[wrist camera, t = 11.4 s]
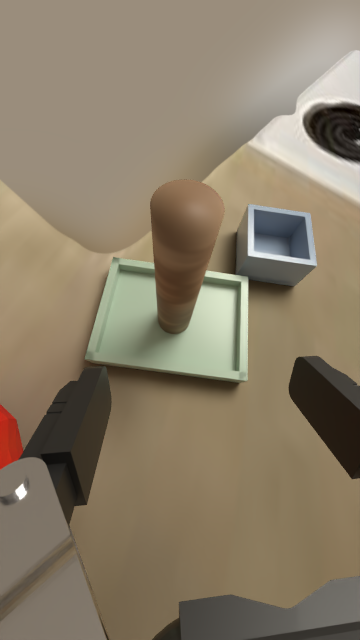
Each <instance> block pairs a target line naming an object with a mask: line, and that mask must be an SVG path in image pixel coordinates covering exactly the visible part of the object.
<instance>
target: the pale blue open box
mask: <svg viewBox="0 0 360 640" xmlns="http://www.w3.org/2000/svg"><path fill="white" fill-rule="evenodd" d="M316 266H317V262H316V254H315V247H314V239H313V231H312V223H311V216H310V213H304V212H298V211H291V210H285V209H278V208H271V207H265V206H258V205H252V204H248V206H247V208H246V211H245V213H244V215H243V218H242V220H241V222H240V225H239V227H238V229H237V241H236V271H235V275H240V276H246V277H248V280H254V281H261V282H268V283H275V284H282V285H289V286H295V285H296V284H297V283H299V282H300V281H301V280H302V279H303V278H304V277H305V276H306V275H307V274H309V273H310V272H311V271H312V270H313V269H314V268H315V267H316Z"/></svg>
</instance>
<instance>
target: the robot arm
mask: <svg viewBox="0 0 360 640" xmlns="http://www.w3.org/2000/svg"><path fill="white" fill-rule="evenodd" d="M289 394H290V397H291V399H292V400H293V402H294V403H295V404H296V406H297V407H298V408H299V410H300V411H301V412H302V414H303V415H304V416H305V418H306V419H307V420H308V422H309V423H310V424H311V426H312V427H313V428H314V429H315V431H316V432H317V433H318V435H319V436H320V437H321V439H322V440H323V441H324V443H325V444H326V445H327V447H328V448H329V449H330V451H331V452H332V453H333V455H334V456H335V457H336V459H337V460H338V461H339V462H340V464H341V465H342V466H343V468H344V469H345V470H346V472H347V473H348V474H349V476H350V477H351V478H352V479H357V478H360V386H358V385H357V383H356V382H354V381H353V380H352V379H351V378H349V377H348V376H347V375H346V374H344V373H342V372H340V371H338V370H336V369H334V368H332V367H331V366H330V365H329V364H327V363H326V362H325V361H324V360H323V359H321V358H320V357H318V356H306V357H298V358H297V359H296V360H295V363H294V367H293V371H292V375H291V379H290V383H289ZM110 411H111V392H110V386H109V380H108V374H107V369H106V367H105V366H100V367H85V368H84V370H83V372H82V374H81V376H80V378H79V379H78V381H70V382H69V383H68V384H67V385H65V386H64V387H63V388H62V389H61V390H60V391H59V392H58V394H57V396H56V397H55V399H54V401H53V402H52V405H51V406H50V407H49V409H48V411H47V414H46V415H45V416H44V417H43V419H42V421H41V423H40V424H39V426H38V428H37V429H36V431H35V433H34V434H33V436H32V438H31V439H30V441H29V443H28V444H27V446H26V448H25V450H24V451H23V453H22V455H21V456H20V458H19V459H18V460H17V461H14V462H12V463H10V464H8V465H7V466H5V467H4V468H2V469H1V470H0V640H110V638H109V635H108V632H107V629H106V626H105V624H104V621H103V618H102V615H101V613H100V610H99V607H98V605H97V602H96V599H95V596H94V593H93V591H92V588H91V585H90V582H89V579H88V577H87V574H86V571H85V568H84V565H83V563H82V560H81V557H80V554H79V551H78V548H77V546H76V543H75V540H74V537H73V534H72V532H71V529H70V526H69V523H70V520H71V516H72V513H73V510H74V506H80V505H87V502H88V498H89V494H90V490H91V486H92V482H93V478H94V474H95V470H96V466H97V462H98V459H99V455H100V451H101V447H102V443H103V439H104V435H105V431H106V427H107V423H108V419H109V415H110ZM152 640H360V576H357V577H350V578H343V579H336V580H330V581H329V582H327V583H326V584H325V585H323V586H322V587H321V588H319V589H318V590H316V591H315V592H314V593H312V594H311V595H309V596H308V597H307V598H305V599H304V600H302V601H301V602H300V603H298V604H297V605H295V606H294V607H292V608H288V609H285V608H280V607H276V606H273V605H269V604H265V603H261V602H257V601H253V600H250V599H246V598H242V597H238V596H234V595H224V596H217V597H210V598H203V599H196V600H189V601H182V602H179V618H178V619H176V620H175V621H173V622H172V623H170V624H169V625H167V626H166V627H165V628H164V629H163V630H162V631H160V632H159V633H158V634H157V635H156V636H155V637H154V638H153V639H152Z"/></svg>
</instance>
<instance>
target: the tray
mask: <svg viewBox="0 0 360 640" xmlns="http://www.w3.org/2000/svg"><path fill="white" fill-rule="evenodd" d="M85 360H87V361H89V362H91V363H95V364H103V365H110V366H118V367H125V368H133V369H140V370H148V371H155V372H163V373H170V374H178V375H185V376H193V377H200V378H208V379H215V380H223V381H230V382H237V383H241V382H245V381H247V367H248V277H246V276H240V275H233V274H226V273H219V272H212V271H206V273H205V276H204V279H203V282H202V285H201V289H200V292H199V295H198V298H197V301H196V304H195V307H194V310H193V314H192V317H191V320H190V323H189V326H188V327H187V329H186V330H185V331H183V332H181V333H179V334H170V333H167V332H165V331H164V330H163V329H162V328H161V327H160V325H159V323H158V313H157V298H156V283H155V268H154V263H149V262H143V261H136V260H129V259H122V258H115V257H113V260H112V264H111V267H110V271H109V274H108V278H107V281H106V285H105V288H104V292H103V295H102V299H101V302H100V306H99V309H98V313H97V317H96V320H95V324H94V327H93V331H92V334H91V338H90V341H89V345H88V348H87V352H86V355H85Z"/></svg>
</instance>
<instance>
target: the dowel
mask: <svg viewBox="0 0 360 640" xmlns="http://www.w3.org/2000/svg"><path fill="white" fill-rule="evenodd" d="M150 209H151V223H152V239H153V254H154V268H155V283H156V298H157V313H158V323H159V325H160V327H161V328H162V329H163V330H164V331H165V332H167V333H170V334H179V333H181V332H183V331H185V330H186V329H187V327H188V326H189V323H190V320H191V317H192V314H193V310H194V307H195V304H196V301H197V298H198V295H199V292H200V289H201V285H202V282H203V279H204V276H205V273H206V270H207V267H208V264H209V260H210V257H211V254H212V251H213V248H214V245H215V242H216V239H217V235H218V232H219V229H220V226H221V223H222V220H223V217H224V212H225V208H224V203H223V201H222V199H221V197H220V196H219V194H218V193H217V192H216V191H215V190H214V189H212V188H211V187H209V186H208V185H206V184H204V183H201V182H198V181H193V180H174V181H171V182H168V183H166V184H164V185H162V186H161V187H159V188H158V189H157V190H156V191H155V192H154V194H153V196H152V198H151V202H150Z"/></svg>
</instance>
